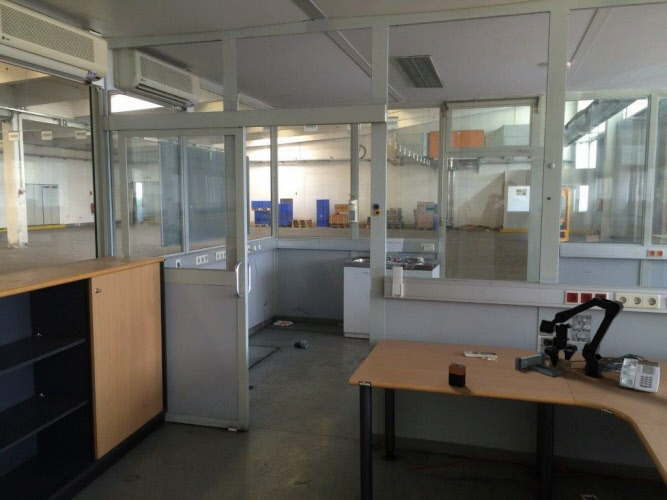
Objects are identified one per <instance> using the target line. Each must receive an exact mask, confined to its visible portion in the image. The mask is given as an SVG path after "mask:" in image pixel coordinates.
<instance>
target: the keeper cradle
mask: <svg viewBox="0 0 667 500" xmlns="http://www.w3.org/2000/svg"><path fill="white" fill-rule="evenodd" d="M527 369H529V370H530V371H534V372H537V373H540V374H542V375H546V376H548V377H552V378H554V377H558V376H562V375H564V371H562V370H559V369H556V368H553V367H550V366H548V365H546V364H545V365H542V364H539V363H538V364H533V365H528V367H527Z"/></svg>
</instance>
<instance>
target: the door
mask: <svg viewBox="0 0 667 500" xmlns="http://www.w3.org/2000/svg"><path fill="white" fill-rule="evenodd" d="M520 358H521V370H522V369H528V365H533V364H538V363H539V364H542V355H541V354H539V355H537V354H535V355H529V356H524V357H520Z"/></svg>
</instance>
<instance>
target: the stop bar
mask: <svg viewBox="0 0 667 500" xmlns="http://www.w3.org/2000/svg"><path fill="white" fill-rule="evenodd" d="M549 367H552V368H555V369H558V370H561V371H563V372H565V373H566V372H571V371H572V360H570V361H569V360H565V358H562V357H559V358H558V361H557V364H556V367H553V365H552V362H551V359H550V358H549Z"/></svg>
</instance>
